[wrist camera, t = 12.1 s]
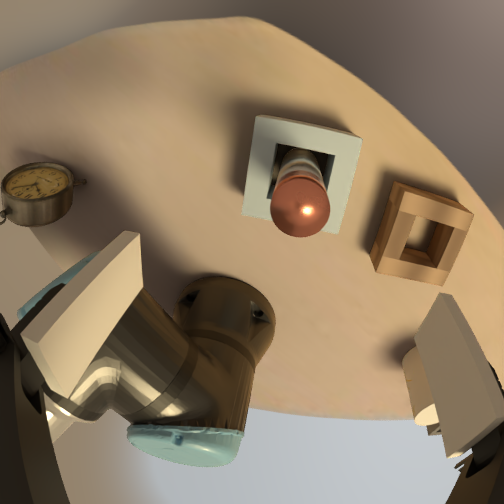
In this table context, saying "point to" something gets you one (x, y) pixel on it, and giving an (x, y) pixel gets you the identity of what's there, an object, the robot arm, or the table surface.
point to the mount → (399, 226)
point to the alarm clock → (37, 194)
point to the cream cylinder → (419, 389)
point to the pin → (300, 195)
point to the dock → (309, 137)
